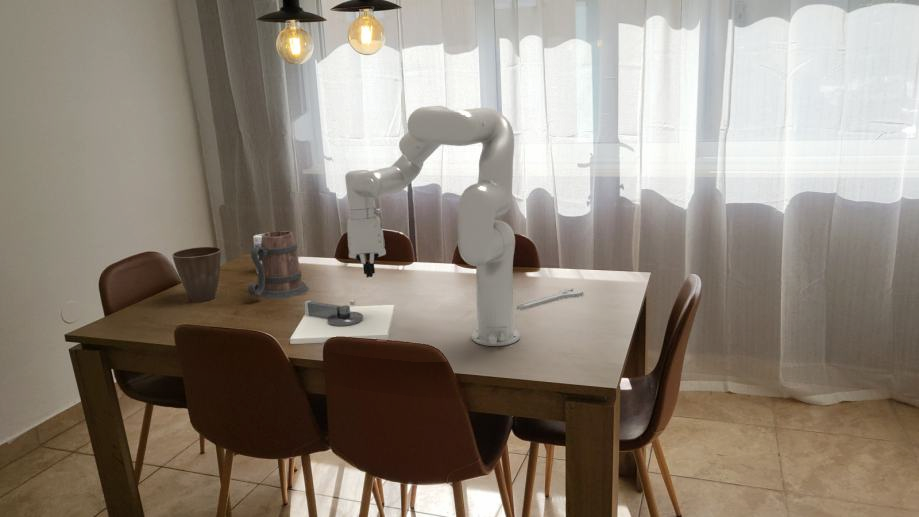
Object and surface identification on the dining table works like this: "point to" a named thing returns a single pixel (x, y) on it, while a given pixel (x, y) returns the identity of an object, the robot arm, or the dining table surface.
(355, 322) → the dial
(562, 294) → the adjustable wrench
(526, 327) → the dining table surface
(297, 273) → the tankard
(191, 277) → the plant pot
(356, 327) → the dial board
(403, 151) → the robot arm
